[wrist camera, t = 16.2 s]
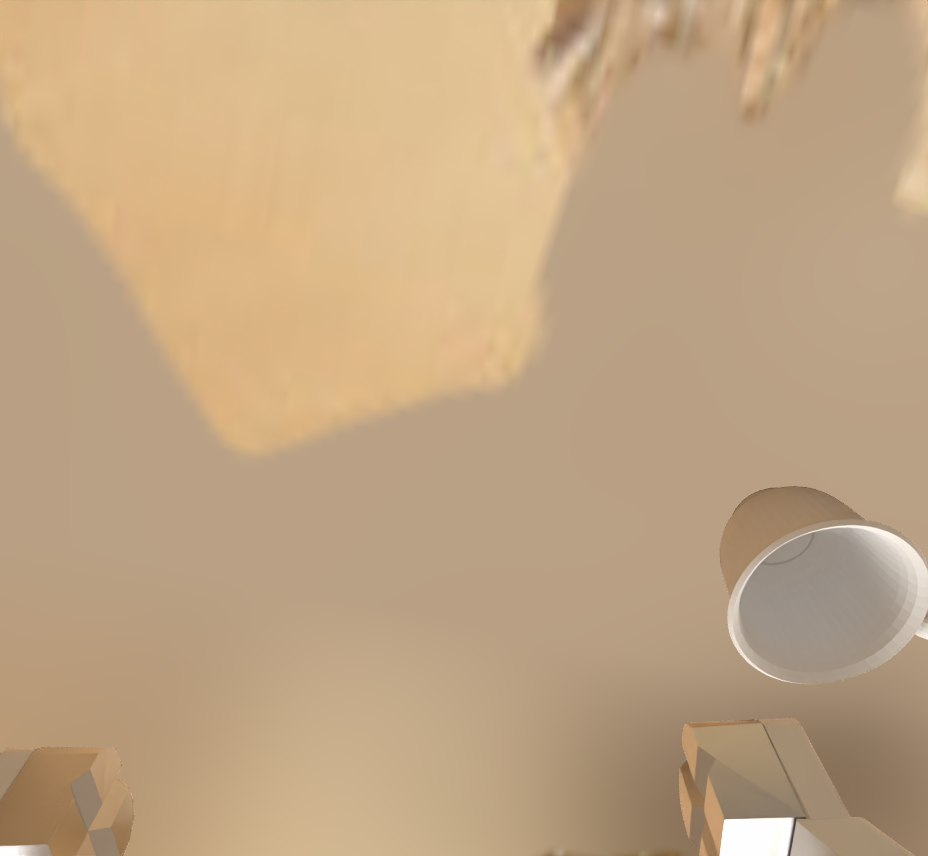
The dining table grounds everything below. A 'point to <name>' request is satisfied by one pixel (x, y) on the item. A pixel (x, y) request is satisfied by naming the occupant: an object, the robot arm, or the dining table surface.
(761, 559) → the teacup
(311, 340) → the dining table surface
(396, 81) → the dining table surface
